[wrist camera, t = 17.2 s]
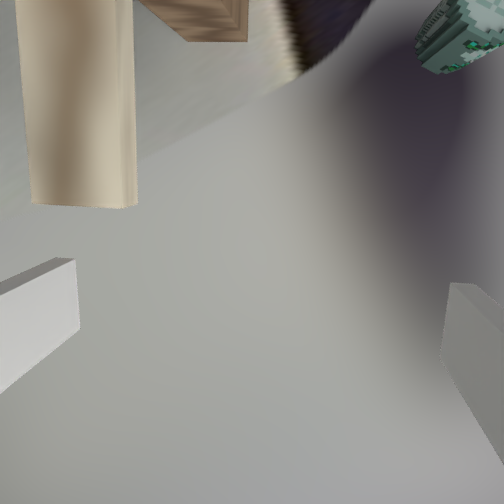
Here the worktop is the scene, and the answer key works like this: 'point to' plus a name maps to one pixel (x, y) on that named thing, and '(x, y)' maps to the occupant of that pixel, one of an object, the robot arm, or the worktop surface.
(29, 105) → the slat
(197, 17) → the stand
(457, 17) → the can
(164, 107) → the worktop surface
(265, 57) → the worktop surface
